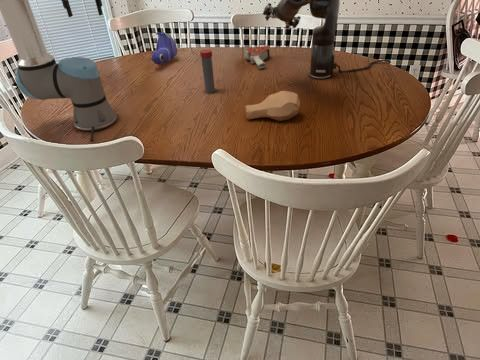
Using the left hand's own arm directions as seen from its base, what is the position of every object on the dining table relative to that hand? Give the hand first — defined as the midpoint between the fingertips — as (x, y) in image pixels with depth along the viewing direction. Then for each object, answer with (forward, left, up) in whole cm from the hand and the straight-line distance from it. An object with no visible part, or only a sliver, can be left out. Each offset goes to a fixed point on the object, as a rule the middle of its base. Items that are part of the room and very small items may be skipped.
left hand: (85, 15), depth 157 cm
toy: (+16, -27, -28) cm, 42 cm away
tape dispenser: (+12, -75, -28) cm, 81 cm away
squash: (-51, -79, -28) cm, 98 cm away
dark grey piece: (-24, -54, -28) cm, 65 cm away
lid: (-24, -54, -12) cm, 60 cm away
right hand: (-12, -83, -4) cm, 84 cm away
